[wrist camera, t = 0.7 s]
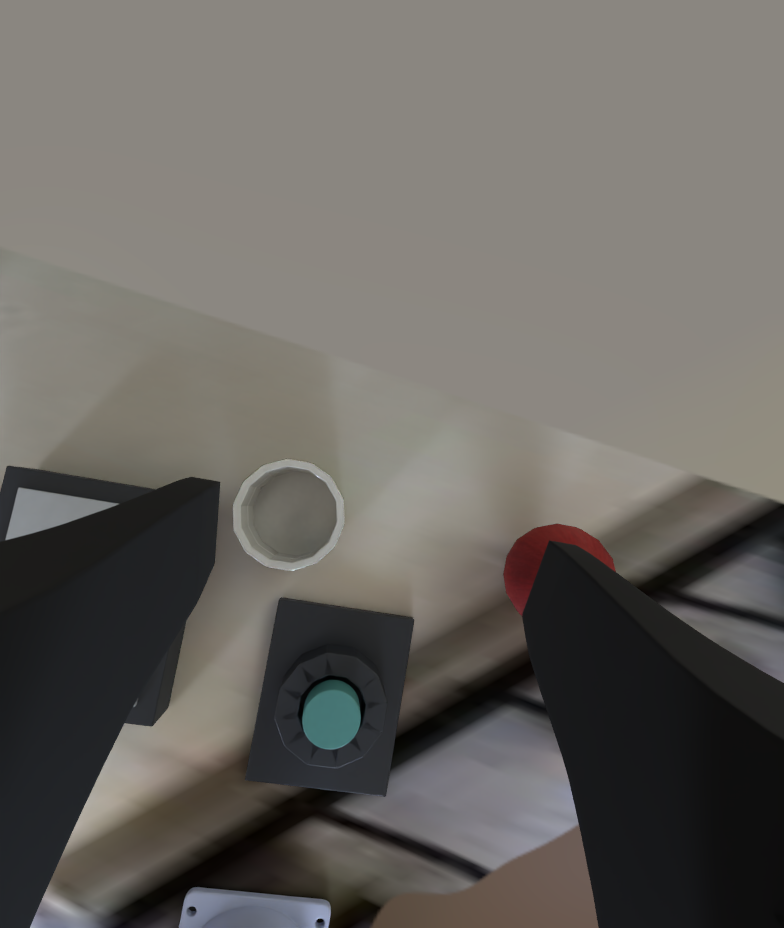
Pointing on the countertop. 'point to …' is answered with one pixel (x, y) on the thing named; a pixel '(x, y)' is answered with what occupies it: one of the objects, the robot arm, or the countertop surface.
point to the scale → (66, 499)
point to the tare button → (331, 714)
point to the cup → (288, 514)
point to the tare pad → (320, 659)
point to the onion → (531, 551)
